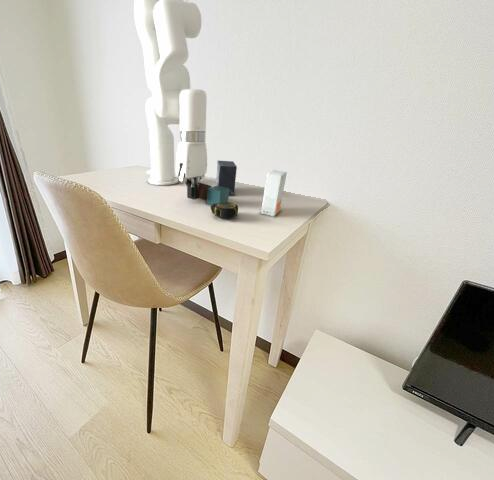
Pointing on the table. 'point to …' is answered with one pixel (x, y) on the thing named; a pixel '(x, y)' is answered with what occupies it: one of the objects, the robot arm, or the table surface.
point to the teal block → (217, 195)
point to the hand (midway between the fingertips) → (192, 198)
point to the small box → (226, 175)
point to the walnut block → (203, 191)
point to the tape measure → (225, 210)
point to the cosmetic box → (273, 192)
